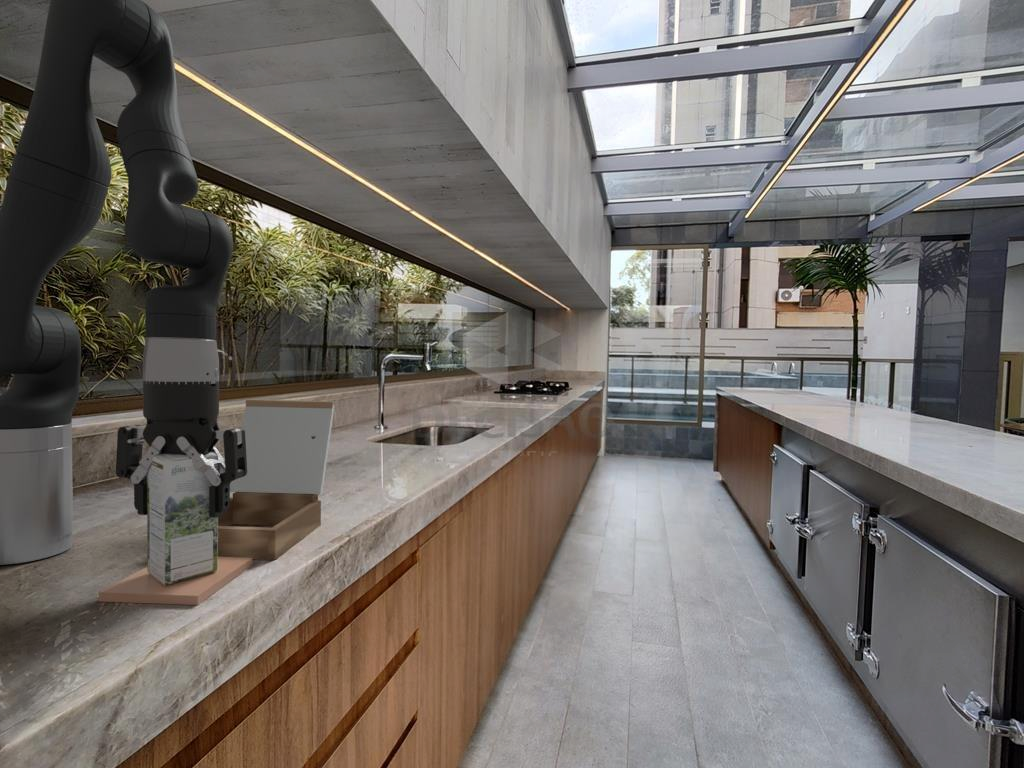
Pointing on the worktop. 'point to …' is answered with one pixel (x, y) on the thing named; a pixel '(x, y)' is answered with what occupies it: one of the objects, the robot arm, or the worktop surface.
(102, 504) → the worktop surface
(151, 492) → the syrup box
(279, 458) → the lid
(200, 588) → the tile
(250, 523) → the wooden box
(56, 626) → the worktop surface
